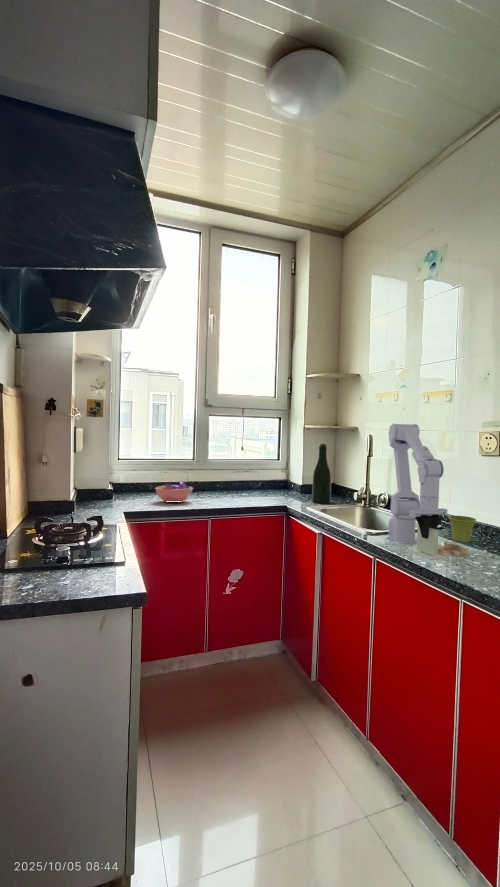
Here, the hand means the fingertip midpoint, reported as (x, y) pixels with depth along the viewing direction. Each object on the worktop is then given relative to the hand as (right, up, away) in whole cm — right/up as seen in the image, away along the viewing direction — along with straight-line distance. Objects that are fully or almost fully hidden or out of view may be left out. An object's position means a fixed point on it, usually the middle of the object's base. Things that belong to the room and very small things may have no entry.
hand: (427, 537), depth 140 cm
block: (0, -5, 0) cm, 5 cm away
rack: (+10, -6, +4) cm, 13 cm away
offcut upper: (+6, -6, +3) cm, 9 cm away
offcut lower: (+6, -7, +3) cm, 9 cm away
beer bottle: (-19, -2, +98) cm, 100 cm away
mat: (0, -6, 0) cm, 6 cm away
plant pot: (+22, -6, +21) cm, 31 cm away
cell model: (-99, -1, +87) cm, 132 cm away
